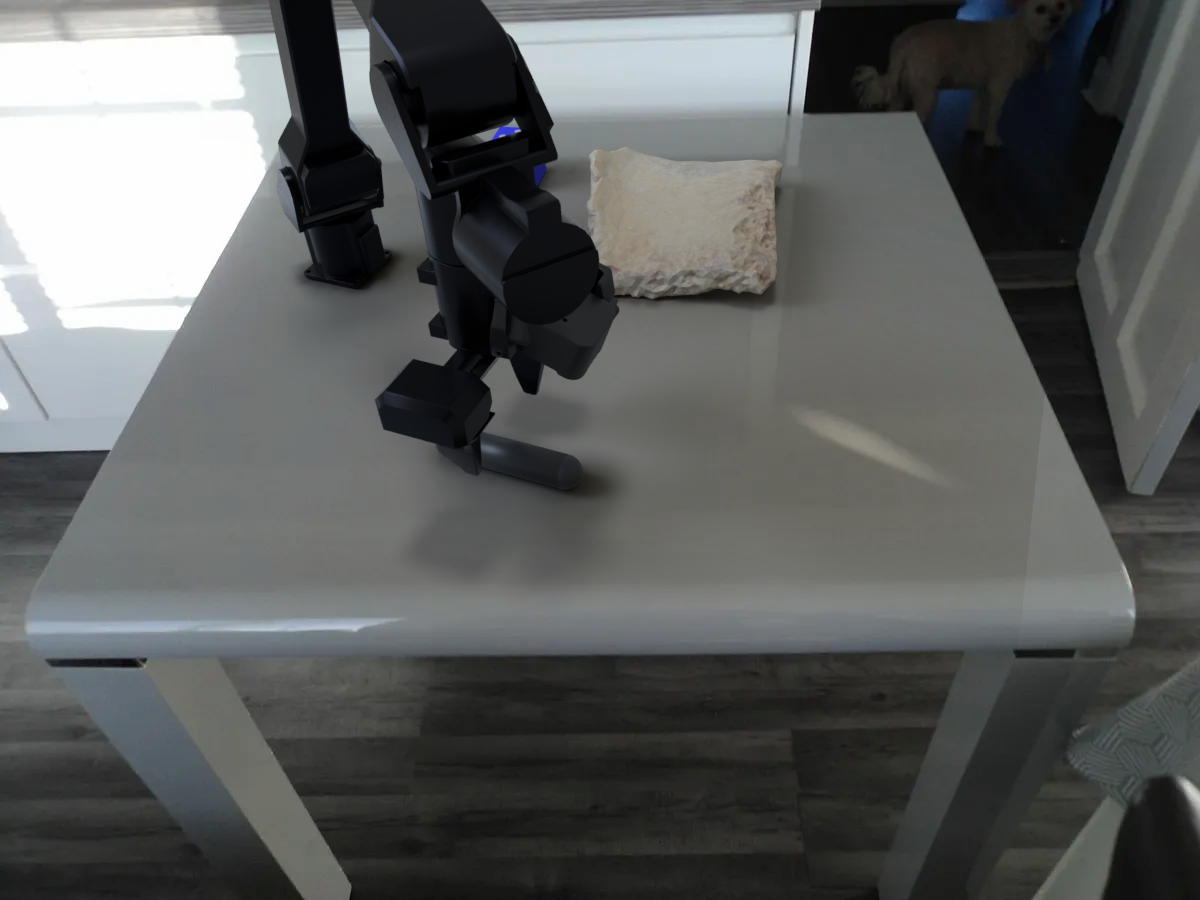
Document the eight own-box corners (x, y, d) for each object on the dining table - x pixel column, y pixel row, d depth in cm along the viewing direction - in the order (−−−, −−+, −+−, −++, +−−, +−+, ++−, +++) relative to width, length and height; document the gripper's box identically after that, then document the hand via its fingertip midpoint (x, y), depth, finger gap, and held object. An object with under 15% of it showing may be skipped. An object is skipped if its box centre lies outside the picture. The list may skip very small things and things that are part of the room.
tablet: (559, 303, 85) (775, 303, 81) (546, 231, 81) (775, 226, 76) (610, 188, 103) (789, 183, 98) (601, 123, 98) (790, 114, 94)
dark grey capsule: (432, 460, 69) (426, 435, 68) (448, 439, 71) (443, 414, 69) (575, 500, 66) (572, 475, 64) (589, 476, 67) (587, 451, 66)
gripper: (524, 358, 47) (549, 554, 57) (651, 191, 59) (652, 378, 70) (344, 316, 50) (399, 508, 61) (499, 167, 62) (522, 349, 73)
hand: (503, 431), depth 66 cm, fingers open, 9 cm apart
